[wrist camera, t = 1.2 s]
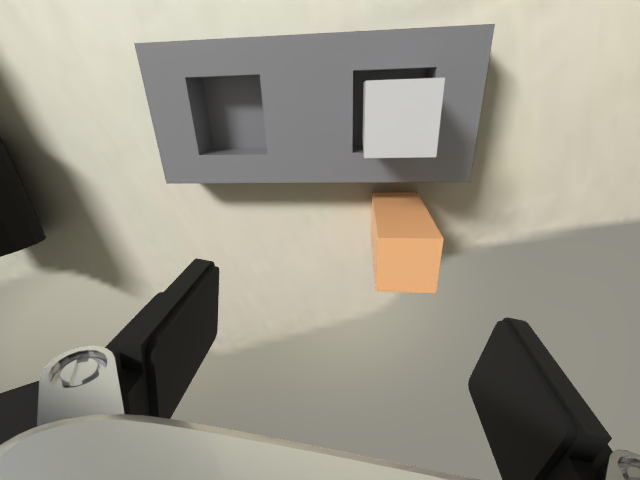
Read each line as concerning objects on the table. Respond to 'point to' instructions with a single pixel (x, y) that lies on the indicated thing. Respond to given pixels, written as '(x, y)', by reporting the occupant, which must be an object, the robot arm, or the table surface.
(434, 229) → the plug
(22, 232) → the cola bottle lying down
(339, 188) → the table surface
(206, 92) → the power strip
